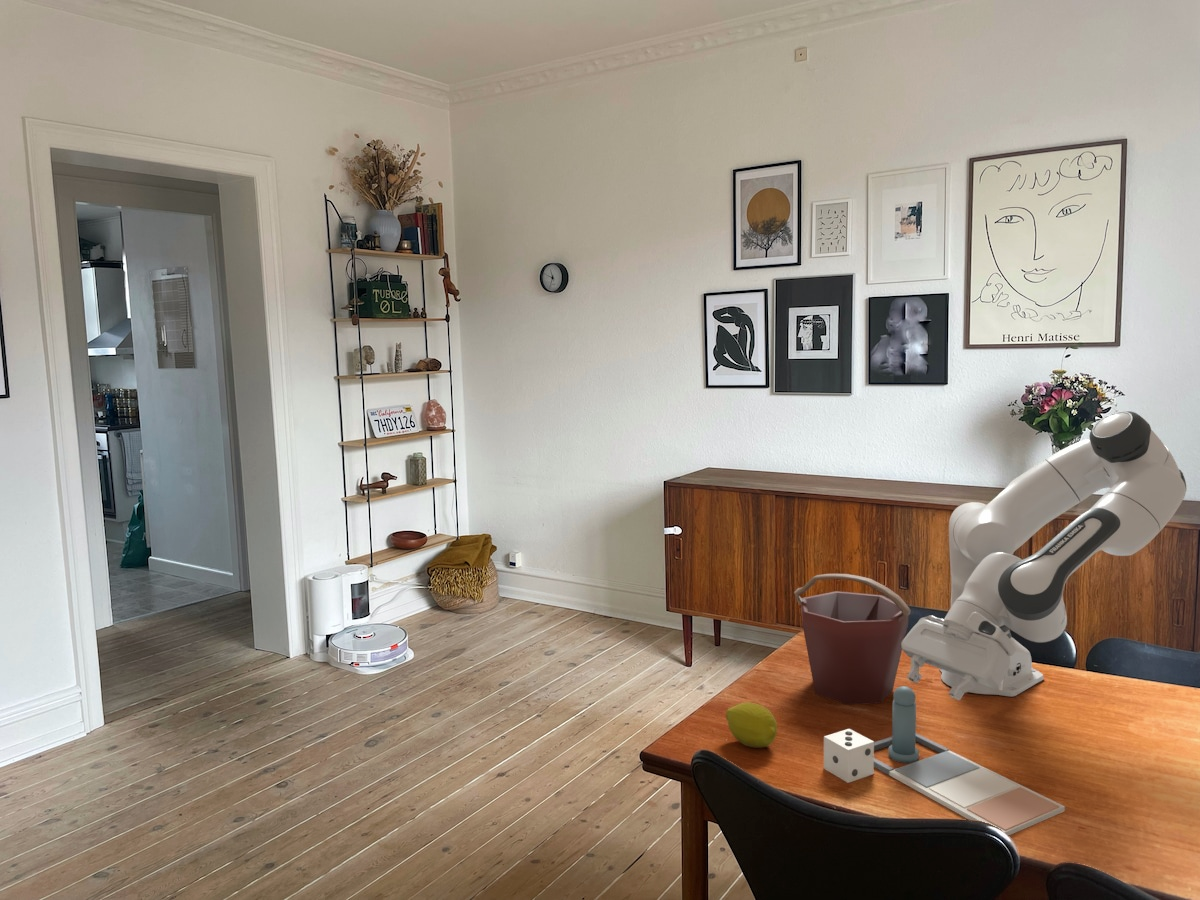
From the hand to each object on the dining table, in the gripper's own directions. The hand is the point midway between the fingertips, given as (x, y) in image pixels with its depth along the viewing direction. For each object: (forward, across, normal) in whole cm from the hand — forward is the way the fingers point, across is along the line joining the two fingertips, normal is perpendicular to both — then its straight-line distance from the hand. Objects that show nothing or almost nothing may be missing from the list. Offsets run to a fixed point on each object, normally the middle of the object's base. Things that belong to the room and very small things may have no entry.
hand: (932, 688), depth 160 cm
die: (+22, -2, -5) cm, 22 cm away
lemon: (+27, -19, -11) cm, 35 cm away
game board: (+13, +10, +4) cm, 17 cm away
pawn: (+13, -1, +4) cm, 13 cm away
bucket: (+2, -29, +14) cm, 32 cm away
